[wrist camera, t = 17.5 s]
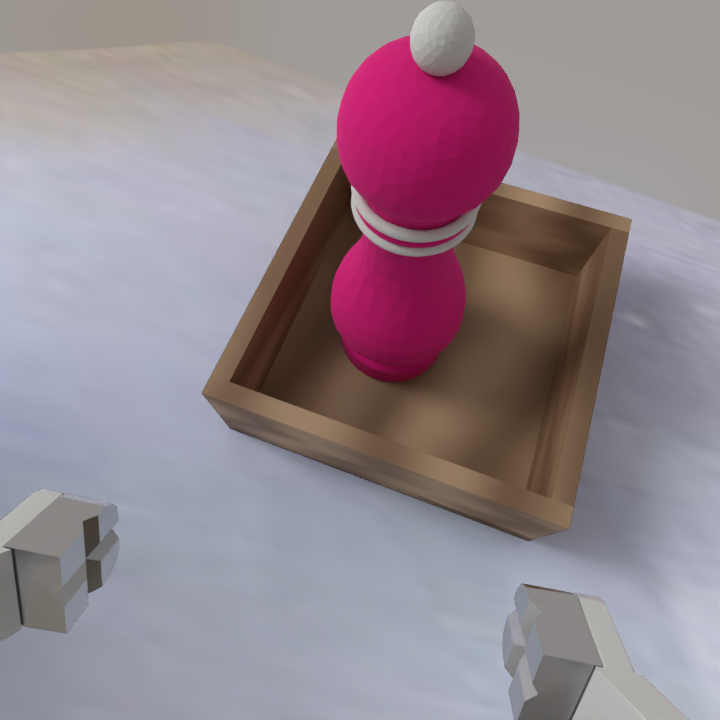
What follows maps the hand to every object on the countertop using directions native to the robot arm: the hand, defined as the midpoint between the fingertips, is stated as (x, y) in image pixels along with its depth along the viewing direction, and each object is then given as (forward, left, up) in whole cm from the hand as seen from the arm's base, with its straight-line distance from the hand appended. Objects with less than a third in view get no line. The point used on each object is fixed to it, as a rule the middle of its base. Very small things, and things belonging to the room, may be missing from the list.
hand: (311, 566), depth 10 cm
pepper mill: (-2, +14, -18) cm, 23 cm away
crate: (0, +14, -19) cm, 24 cm away
